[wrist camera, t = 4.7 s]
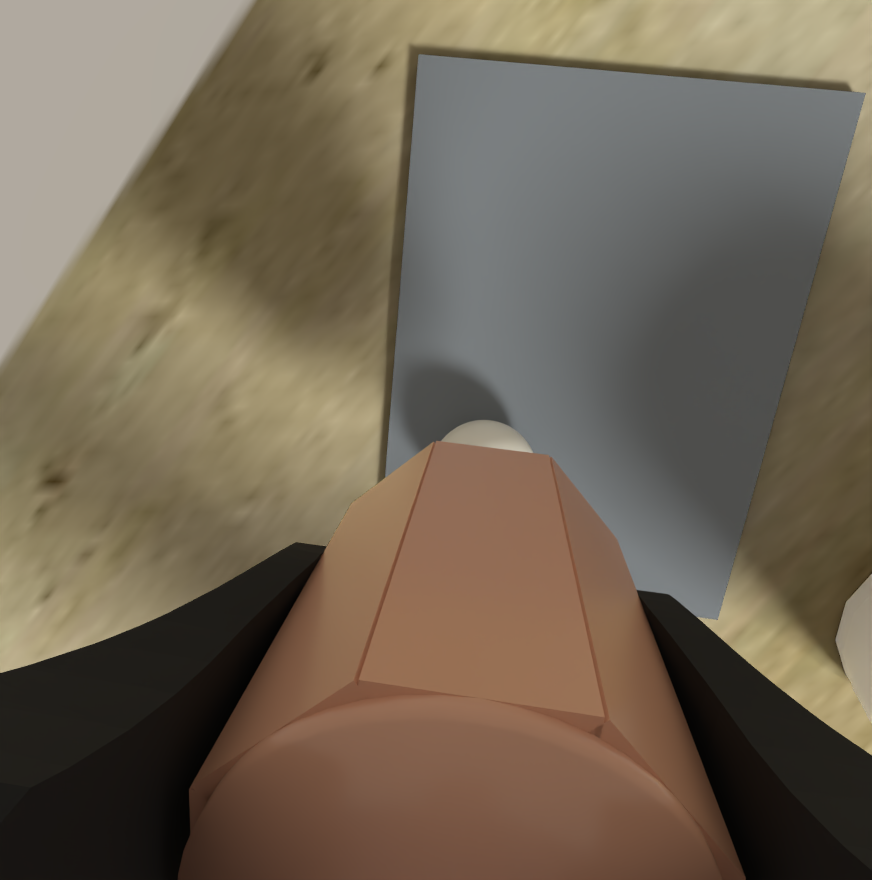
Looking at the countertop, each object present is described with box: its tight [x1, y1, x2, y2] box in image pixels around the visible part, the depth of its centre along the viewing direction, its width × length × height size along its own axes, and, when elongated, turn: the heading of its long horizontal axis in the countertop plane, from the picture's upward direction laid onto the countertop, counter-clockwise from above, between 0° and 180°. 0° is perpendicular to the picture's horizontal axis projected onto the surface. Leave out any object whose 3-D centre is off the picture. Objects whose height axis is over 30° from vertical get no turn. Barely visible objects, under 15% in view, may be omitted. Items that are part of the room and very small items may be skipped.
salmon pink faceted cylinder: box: [178, 441, 746, 880], centre depth 9 cm, size 5×5×7 cm
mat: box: [385, 54, 866, 620], centre depth 18 cm, size 15×11×1 cm
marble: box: [441, 420, 533, 453], centre depth 18 cm, size 3×3×3 cm
